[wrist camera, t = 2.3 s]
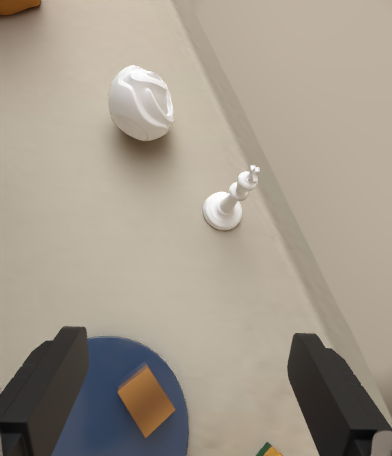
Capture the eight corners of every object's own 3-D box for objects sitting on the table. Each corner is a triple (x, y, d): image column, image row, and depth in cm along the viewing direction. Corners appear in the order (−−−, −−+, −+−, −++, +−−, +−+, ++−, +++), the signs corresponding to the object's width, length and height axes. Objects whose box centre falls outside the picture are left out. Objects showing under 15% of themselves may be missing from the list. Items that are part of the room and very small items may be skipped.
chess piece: (205, 231, 32) (235, 193, 22) (200, 193, 33) (227, 144, 24) (243, 230, 33) (287, 194, 24) (237, 194, 34) (276, 147, 25)
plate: (-62, 470, 20) (-72, 477, 19) (95, 301, 26) (94, 300, 26) (96, 616, 20) (95, 631, 19) (219, 407, 26) (222, 410, 25)
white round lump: (173, 154, 34) (184, 111, 27) (111, 153, 32) (105, 105, 25) (167, 104, 37) (176, 52, 29) (109, 100, 35) (104, 43, 28)
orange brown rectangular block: (118, 386, 24) (117, 392, 22) (146, 363, 25) (147, 366, 23) (144, 429, 23) (145, 438, 21) (172, 403, 24) (175, 410, 22)
